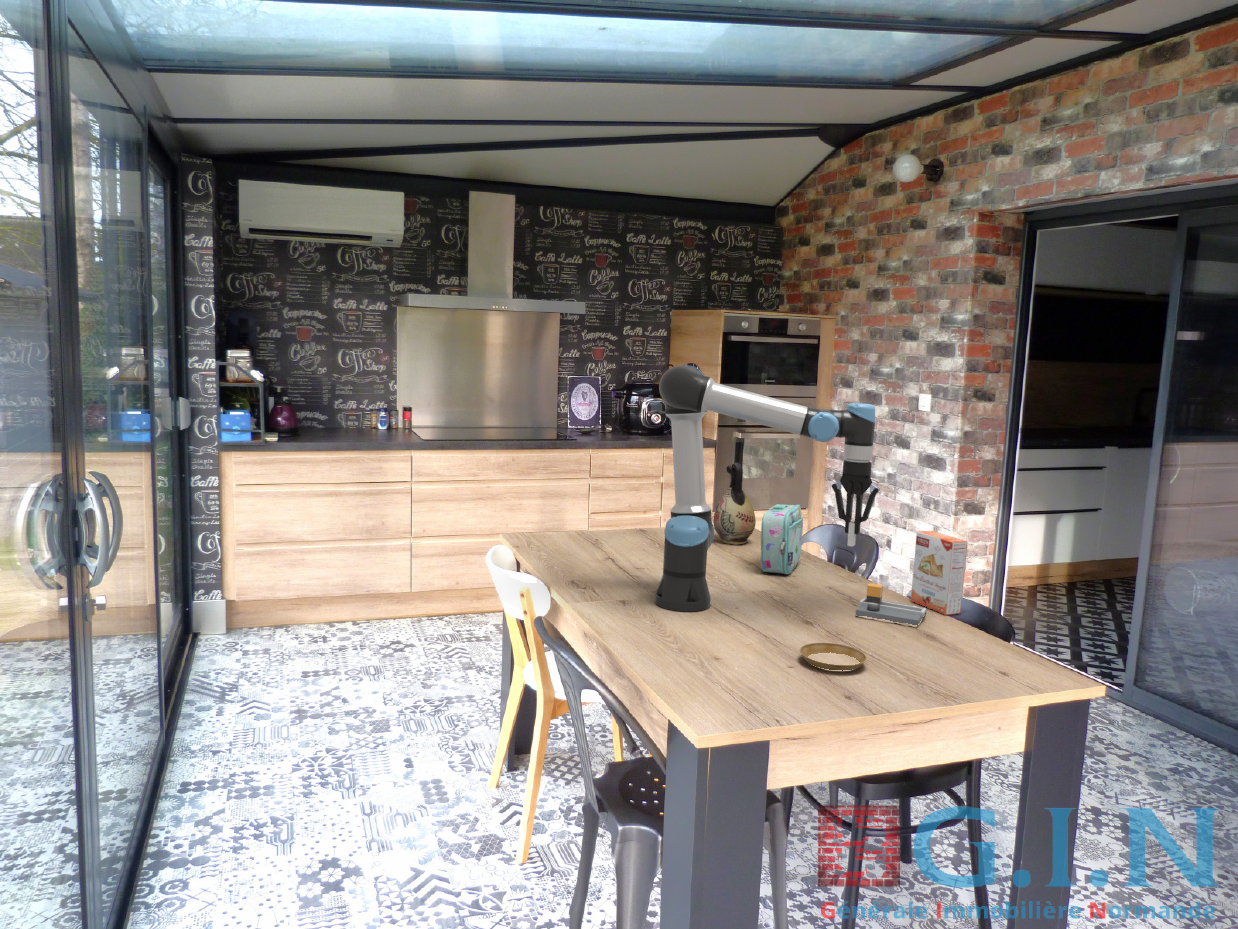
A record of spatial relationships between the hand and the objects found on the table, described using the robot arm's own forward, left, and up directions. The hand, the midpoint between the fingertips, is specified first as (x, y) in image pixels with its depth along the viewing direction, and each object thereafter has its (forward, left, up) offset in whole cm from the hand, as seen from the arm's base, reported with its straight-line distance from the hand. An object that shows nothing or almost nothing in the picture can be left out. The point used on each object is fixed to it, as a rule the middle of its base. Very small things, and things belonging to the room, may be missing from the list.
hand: (851, 545), depth 243 cm
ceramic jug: (+60, +56, -18) cm, 84 cm away
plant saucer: (-48, -8, -18) cm, 52 cm away
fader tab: (0, -7, -15) cm, 17 cm away
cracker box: (+15, -21, -18) cm, 32 cm away
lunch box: (+32, +29, -18) cm, 47 cm away
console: (-1, -12, -18) cm, 22 cm away
